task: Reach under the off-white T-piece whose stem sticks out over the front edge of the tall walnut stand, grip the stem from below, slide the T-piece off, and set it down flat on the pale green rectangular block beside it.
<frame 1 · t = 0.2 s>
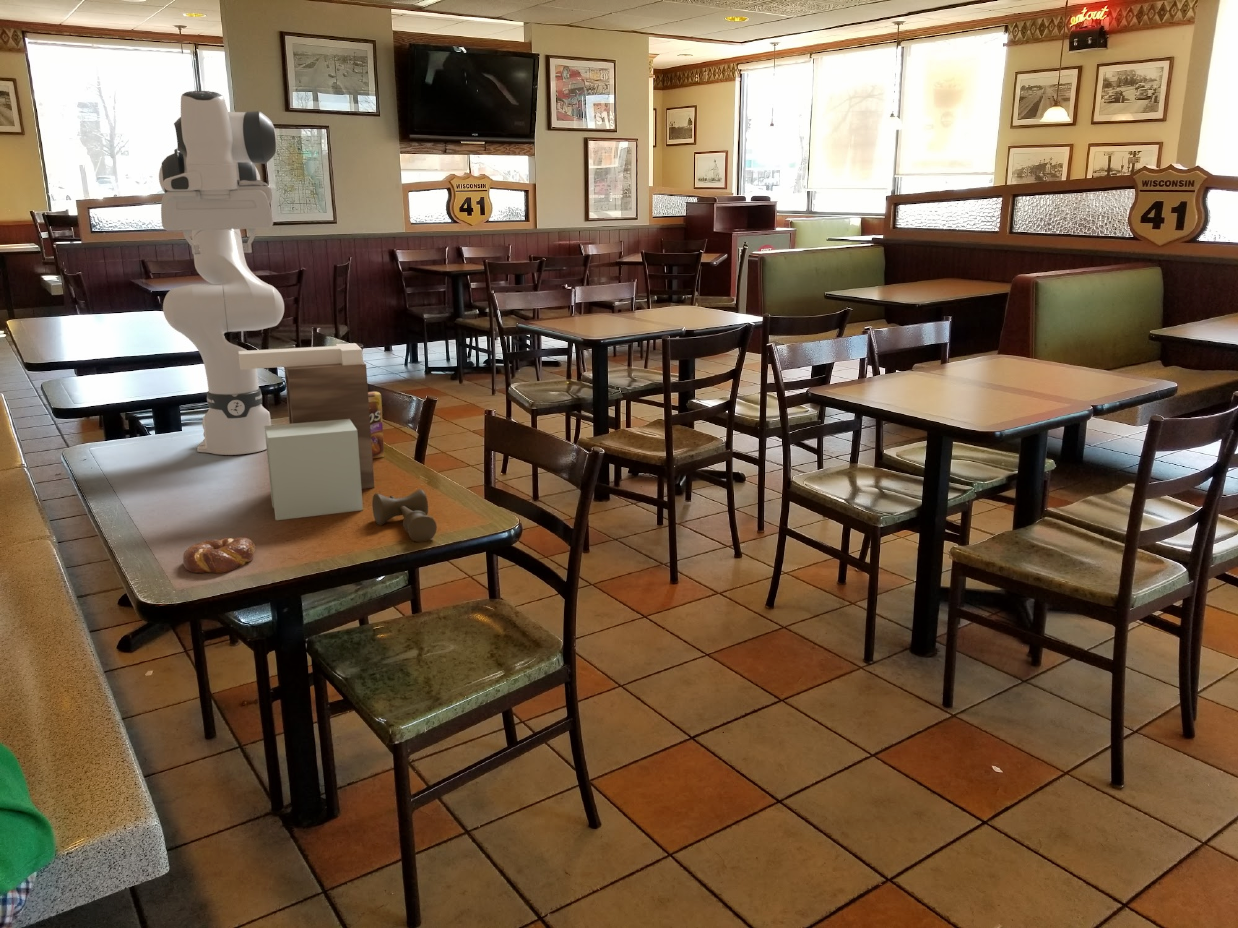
hand: (222, 253, 187), 48 cm above the table, tool pointing down, fingers open, 8 cm apart
candy box: (363, 459, 219), on the table
tall stand: (334, 484, 199), on the table
T-piece: (298, 364, 190), point 26 cm above the table, touching tall stand
kendama: (407, 527, 175), on the table
pretzel: (221, 564, 157), on the table
pale green rectangular block: (317, 507, 184), on the table
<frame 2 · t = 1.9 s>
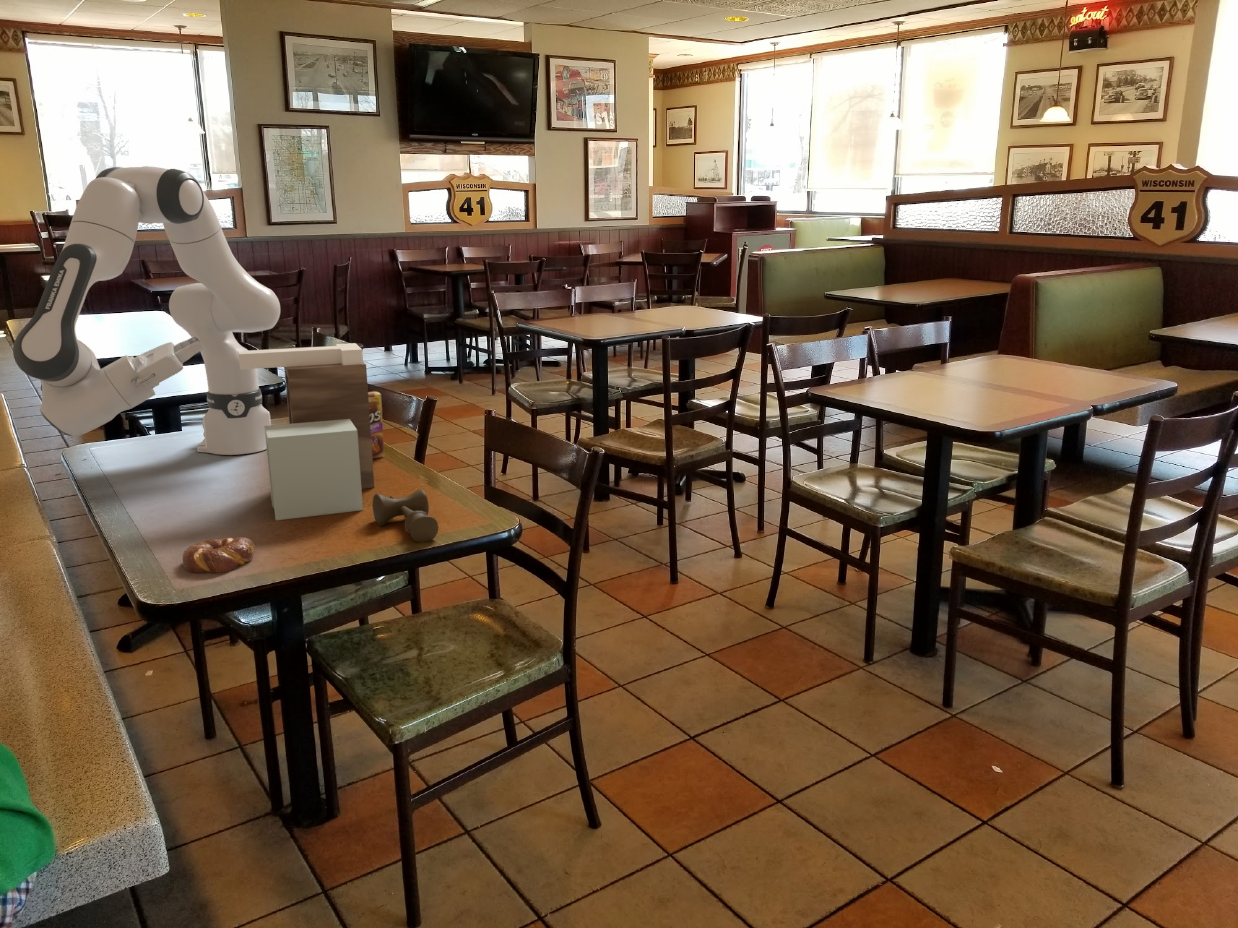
hand: (199, 342, 181), 31 cm above the table, tool pointing upward, fingers open, 8 cm apart
nothing on the table moved.
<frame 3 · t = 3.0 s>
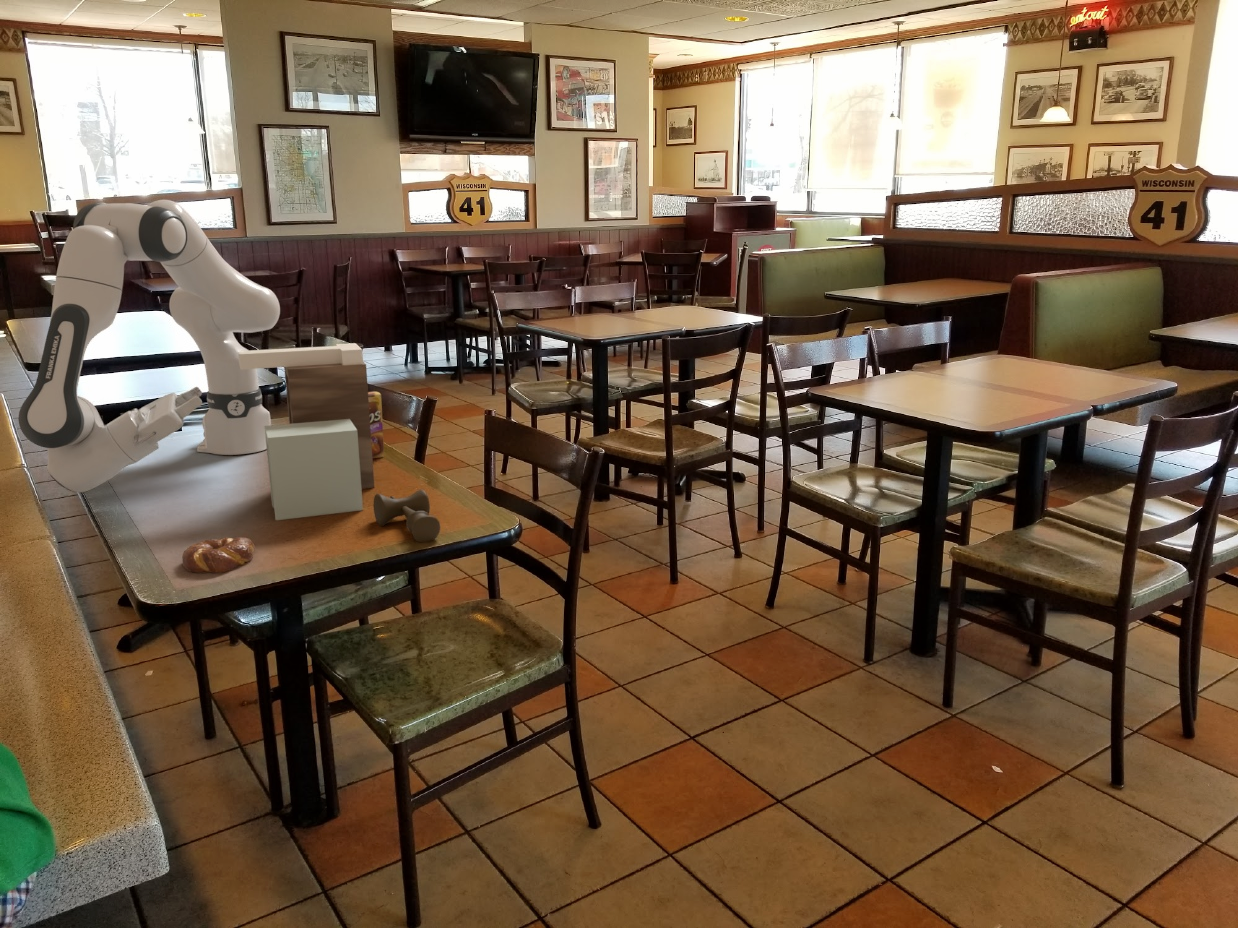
hand: (200, 394, 184), 21 cm above the table, tool pointing upward, fingers open, 8 cm apart
nothing on the table moved.
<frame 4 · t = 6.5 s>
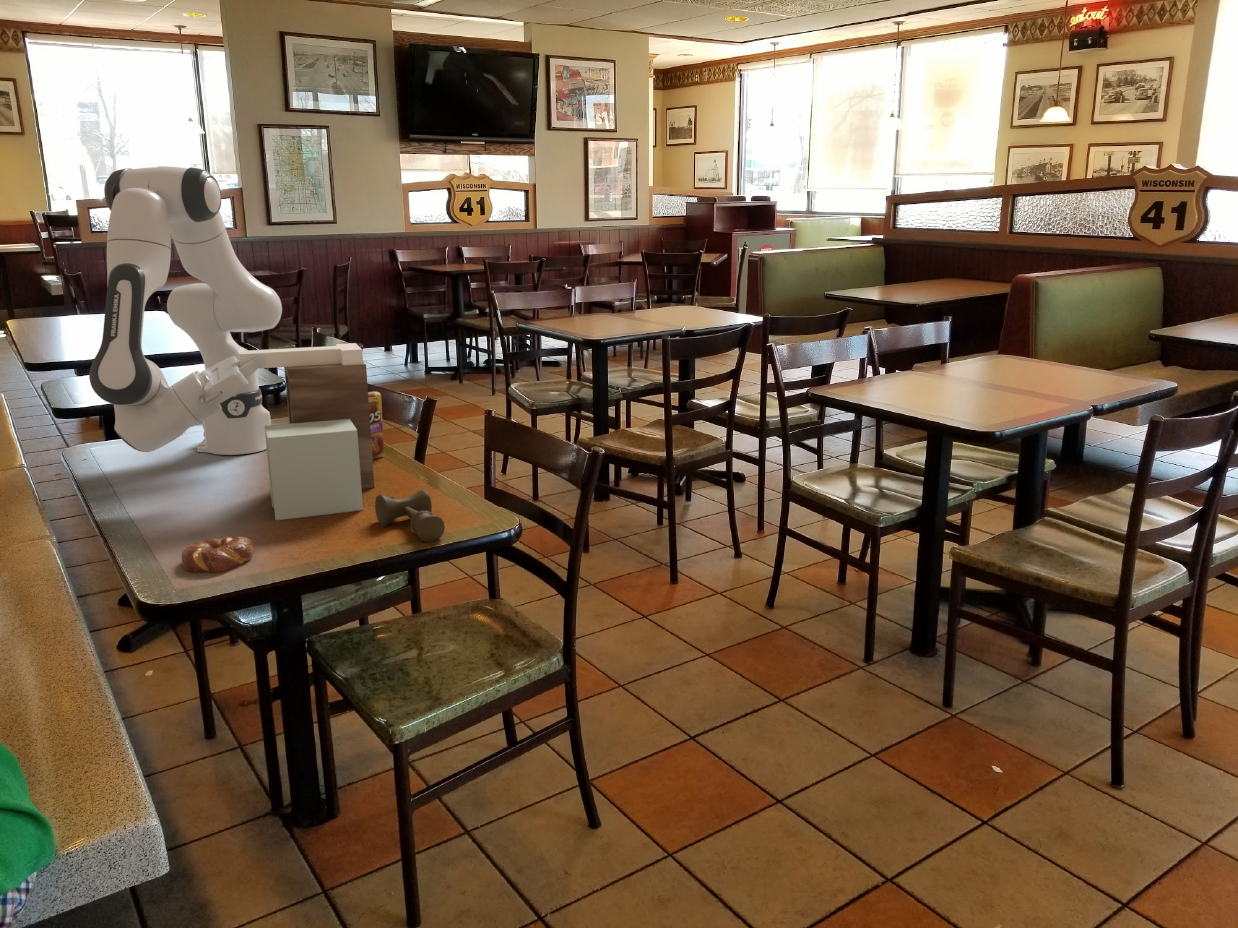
hand: (262, 356, 187), 28 cm above the table, tool pointing upward, fingers closed on T-piece, 4 cm apart
T-piece: (298, 364, 190), point 26 cm above the table, touching gripper, tall stand
when the fingers open (19 cm above the table, at t = 13.8 s): T-piece stays where it is, resting on pale green rectangular block.
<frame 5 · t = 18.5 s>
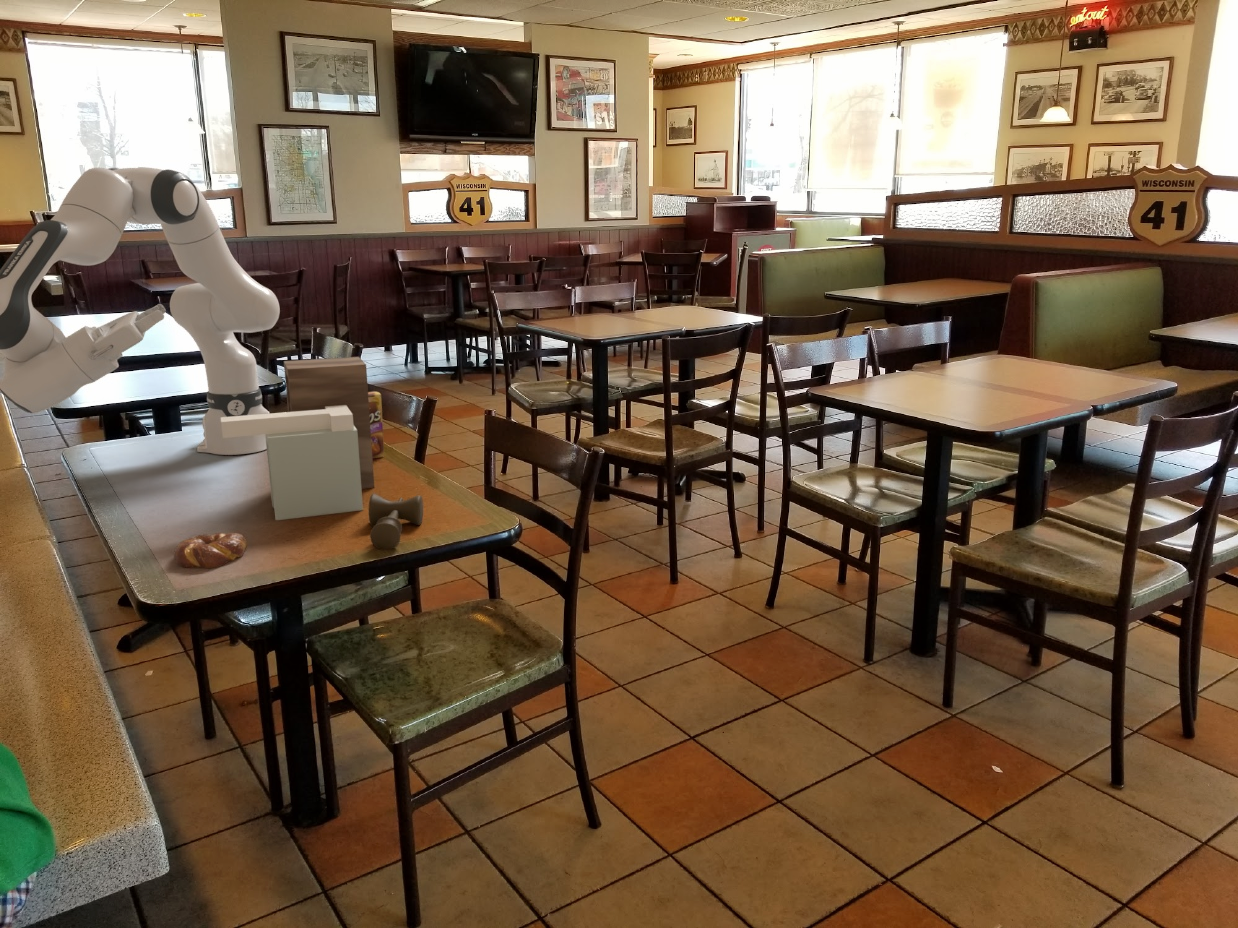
hand: (162, 310, 172), 38 cm above the table, tool pointing upward, fingers open, 8 cm apart
T-piece: (285, 430, 178), point 16 cm above the table, touching pale green rectangular block
kendama: (394, 532, 173), on the table
pretzel: (212, 558, 160), on the table
everything else where it was.
at the end: T-piece inside the target area on the pale green rectangular block (0.6 cm from its centre), point 16.0 cm above the pale green rectangular block's base; T-piece tilted 0°; the gripper is holding nothing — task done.
